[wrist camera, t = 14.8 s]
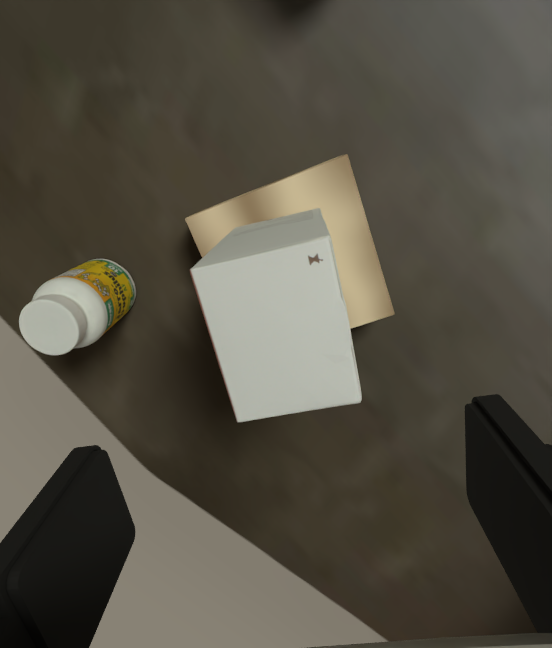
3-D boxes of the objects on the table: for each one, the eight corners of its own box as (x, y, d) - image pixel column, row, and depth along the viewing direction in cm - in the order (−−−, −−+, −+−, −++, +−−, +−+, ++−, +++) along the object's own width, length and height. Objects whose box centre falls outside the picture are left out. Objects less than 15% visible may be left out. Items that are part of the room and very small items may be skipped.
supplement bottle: (66, 266, 36) (-8, 299, 27) (124, 250, 36) (67, 279, 27) (91, 323, 38) (29, 372, 29) (146, 309, 37) (101, 355, 28)
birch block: (339, 156, 33) (347, 154, 28) (381, 295, 37) (394, 314, 32) (199, 211, 35) (184, 218, 30) (253, 338, 38) (247, 362, 34)
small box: (233, 226, 30) (185, 265, 18) (321, 205, 29) (333, 231, 17) (260, 330, 33) (235, 427, 20) (342, 314, 32) (366, 404, 20)
